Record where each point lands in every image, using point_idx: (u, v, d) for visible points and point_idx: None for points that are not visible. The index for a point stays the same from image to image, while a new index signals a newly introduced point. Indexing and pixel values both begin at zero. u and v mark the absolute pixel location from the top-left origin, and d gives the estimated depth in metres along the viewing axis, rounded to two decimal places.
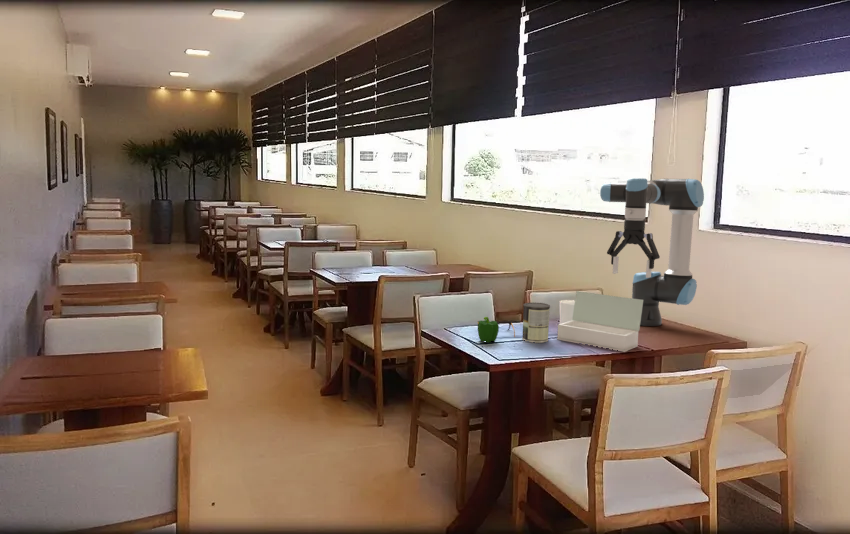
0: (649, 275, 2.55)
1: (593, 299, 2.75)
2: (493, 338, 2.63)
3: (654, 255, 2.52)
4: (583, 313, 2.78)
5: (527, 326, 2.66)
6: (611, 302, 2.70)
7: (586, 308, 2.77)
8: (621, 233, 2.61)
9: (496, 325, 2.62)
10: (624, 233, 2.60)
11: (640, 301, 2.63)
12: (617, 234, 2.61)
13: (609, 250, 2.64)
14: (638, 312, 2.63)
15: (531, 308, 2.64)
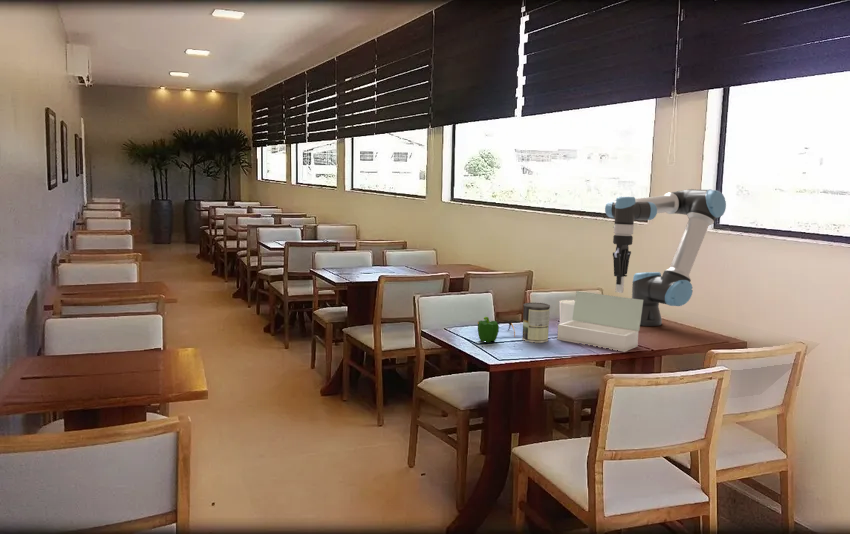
0: (618, 290, 2.79)
1: (593, 299, 2.75)
2: (493, 338, 2.63)
3: None
4: (583, 313, 2.78)
5: (527, 326, 2.66)
6: (611, 302, 2.70)
7: (586, 308, 2.77)
8: None
9: (496, 325, 2.62)
10: None
11: (640, 301, 2.63)
12: None
13: None
14: (638, 312, 2.63)
15: (531, 308, 2.64)
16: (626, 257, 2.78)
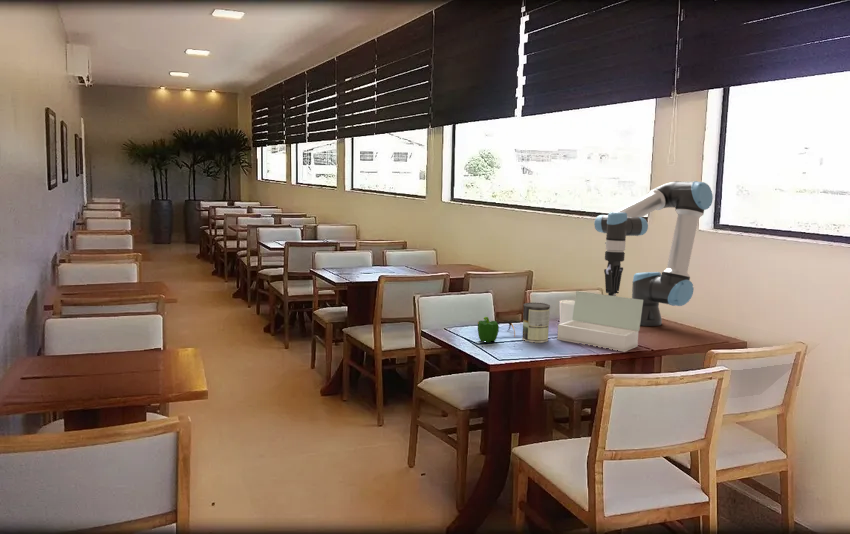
0: None
1: (593, 299, 2.75)
2: (493, 338, 2.63)
3: None
4: (583, 313, 2.78)
5: (527, 326, 2.66)
6: (611, 302, 2.70)
7: (586, 308, 2.77)
8: None
9: (496, 325, 2.62)
10: None
11: (640, 301, 2.63)
12: None
13: None
14: (638, 312, 2.63)
15: (531, 308, 2.64)
16: (618, 274, 2.73)
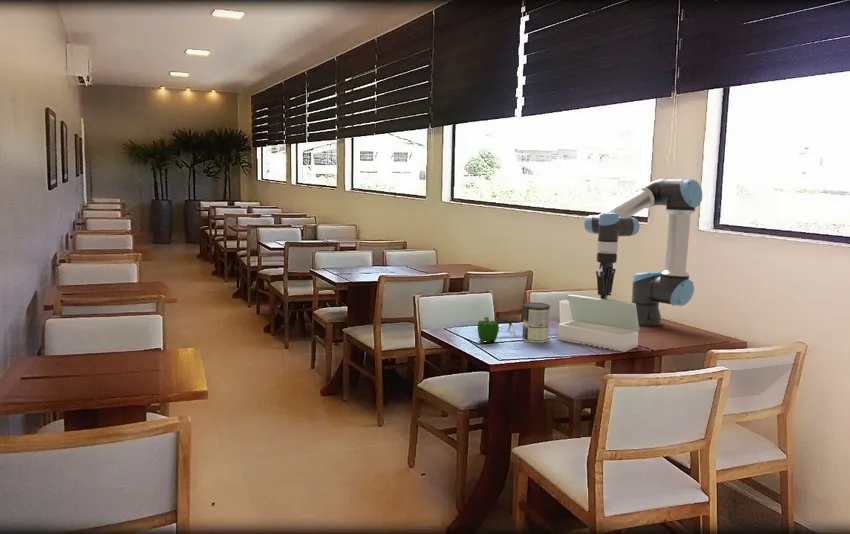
0: None
1: (586, 303, 2.71)
2: (493, 338, 2.63)
3: None
4: (580, 315, 2.76)
5: (527, 326, 2.66)
6: (605, 306, 2.66)
7: (582, 310, 2.74)
8: None
9: (496, 325, 2.62)
10: None
11: (633, 306, 2.58)
12: None
13: None
14: (634, 315, 2.60)
15: (531, 308, 2.64)
16: (610, 275, 2.68)
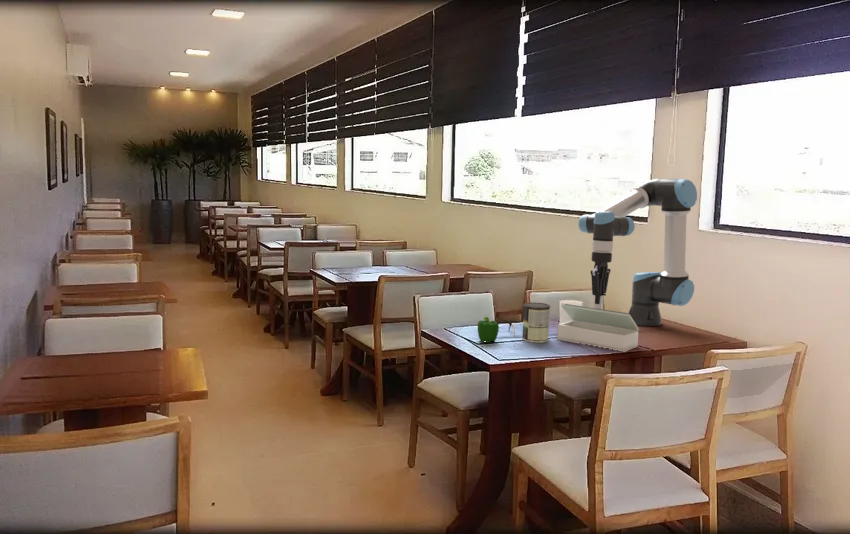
0: None
1: (582, 311, 2.69)
2: (493, 338, 2.63)
3: None
4: (579, 318, 2.75)
5: (527, 326, 2.66)
6: (600, 315, 2.64)
7: (579, 315, 2.73)
8: None
9: (496, 325, 2.62)
10: None
11: (627, 317, 2.55)
12: None
13: None
14: (631, 322, 2.58)
15: (531, 308, 2.64)
16: (605, 275, 2.64)
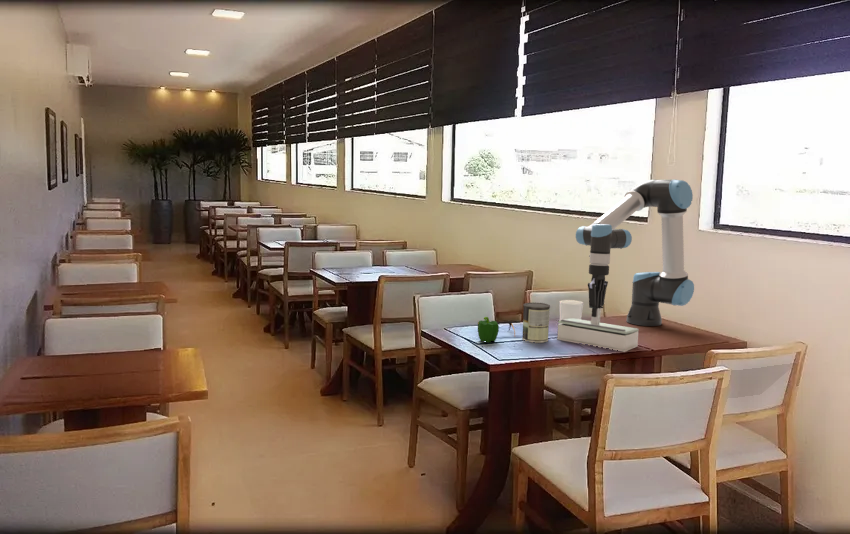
0: (594, 323, 2.64)
1: None
2: (493, 338, 2.63)
3: None
4: None
5: (527, 326, 2.66)
6: None
7: None
8: None
9: (496, 325, 2.62)
10: None
11: (624, 333, 2.54)
12: None
13: None
14: None
15: (531, 308, 2.64)
16: (602, 288, 2.63)
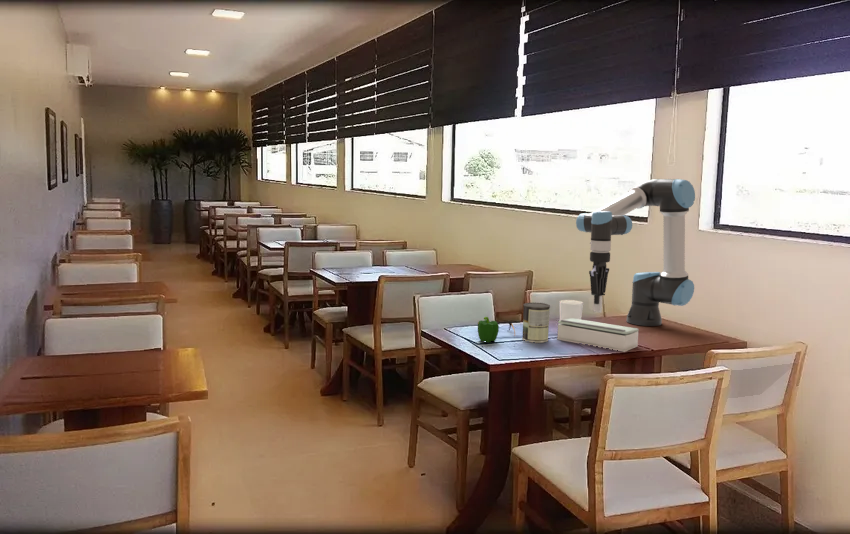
0: (596, 310, 2.64)
1: None
2: (493, 338, 2.63)
3: None
4: None
5: (527, 326, 2.66)
6: None
7: None
8: None
9: (496, 325, 2.62)
10: None
11: (624, 333, 2.54)
12: None
13: None
14: None
15: (531, 308, 2.64)
16: (604, 275, 2.63)
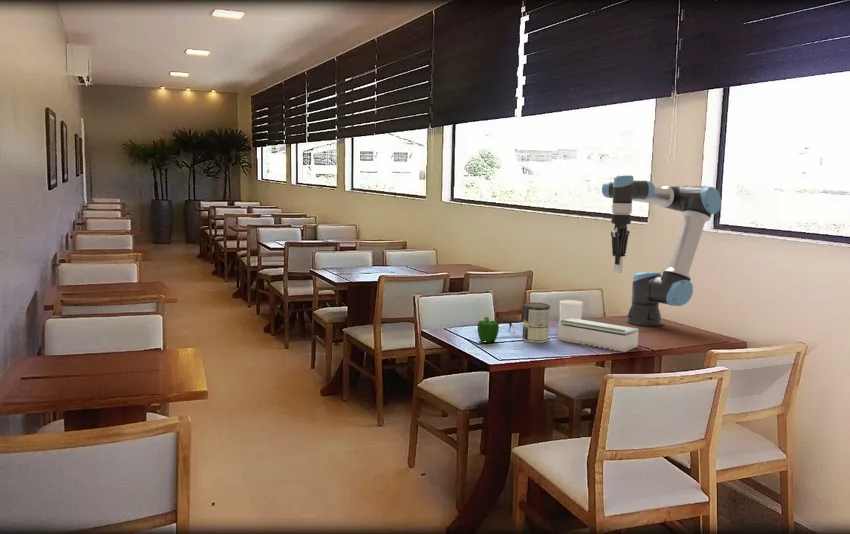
0: (617, 270, 2.76)
1: None
2: (493, 338, 2.63)
3: None
4: None
5: (527, 326, 2.66)
6: None
7: None
8: None
9: (496, 325, 2.62)
10: None
11: (624, 333, 2.54)
12: None
13: None
14: None
15: (531, 308, 2.64)
16: (624, 237, 2.74)
